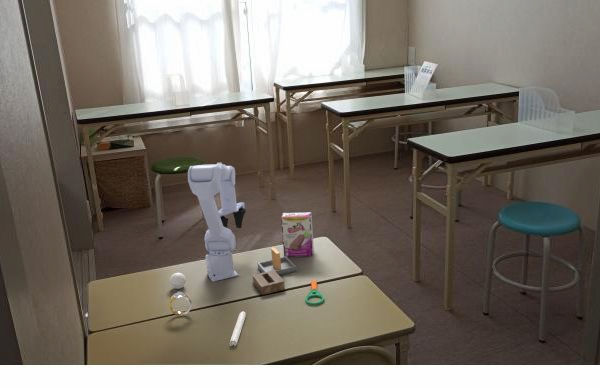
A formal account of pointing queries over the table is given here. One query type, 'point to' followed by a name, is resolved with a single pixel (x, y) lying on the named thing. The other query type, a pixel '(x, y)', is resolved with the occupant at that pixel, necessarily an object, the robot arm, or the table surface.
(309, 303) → the magnifying glass
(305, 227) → the candy bar box
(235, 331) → the marker
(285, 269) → the tray
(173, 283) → the white egg
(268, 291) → the brown slotted block
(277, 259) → the tan wooden plank
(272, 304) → the table surface
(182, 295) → the ring
